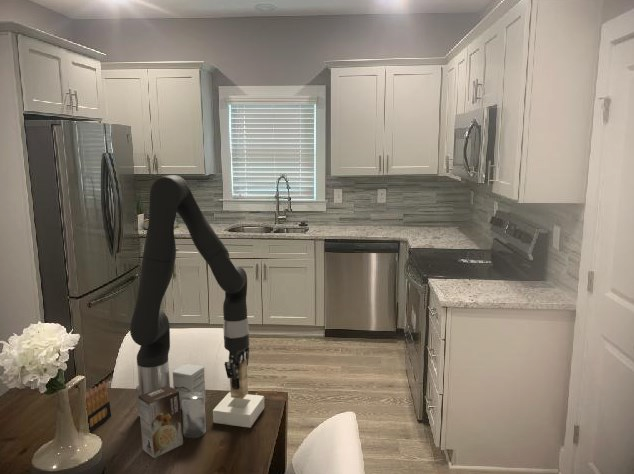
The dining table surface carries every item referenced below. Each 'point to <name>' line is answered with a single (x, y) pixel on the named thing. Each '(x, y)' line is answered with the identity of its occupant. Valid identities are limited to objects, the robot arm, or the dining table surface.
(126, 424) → the dining table surface
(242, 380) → the square peg
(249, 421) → the socket block
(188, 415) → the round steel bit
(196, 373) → the supplement box
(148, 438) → the coffee box
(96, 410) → the ammunition clip
